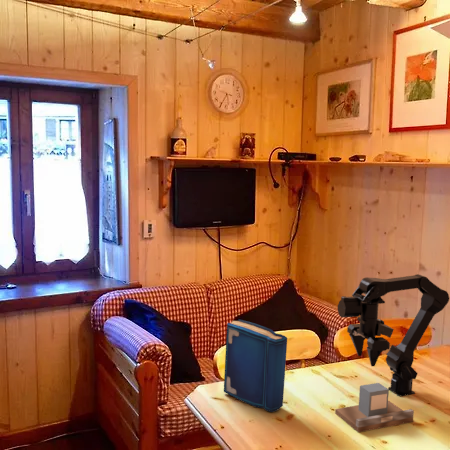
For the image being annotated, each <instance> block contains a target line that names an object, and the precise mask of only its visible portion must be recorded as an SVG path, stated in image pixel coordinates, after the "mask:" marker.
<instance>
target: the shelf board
mask: <svg viewBox="0 0 450 450" xmlns="http://www.w3.org/2000/svg"><path fill="white" fill-rule="evenodd" d="M358 409H359V404H357V405H351V406H345V407H338V408H335V411H334V413H335V415H337V416H338V417H339V418H340V419H341V420H342V421H343V422H345V423H346V424H347V425H349V427H351V428H352V429H353V430H354V431H356V432H357V433H362V432H366V431H372V430H377V429H382V428H387V427H393V426H397V425H404V424H409V423H413V422H414V413H415V412H414V410H413V409H411V408H410V409H409V408H408V409H405V410H403V409H402V408H401V407H399V406H398V405H396V404H394V403H393V402H391V401H390V400H388V409H387V414H382V415H376V416H371V417H367V416H366V415H364V414H363V413H362V412H360V411H359V410H358Z"/></svg>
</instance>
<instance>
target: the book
mask: <svg viewBox="0 0 450 450" xmlns="http://www.w3.org/2000/svg"><path fill="white" fill-rule="evenodd" d="M225 336H226V339H225V356H224V359H225V360H224V377H223V378H224V380H223V392H224V393H225V394H228V395H229V396H231V397H233V398H234V399H236V400H238V401H241V402H242V403H246V404H248V405H250V406H252V407H254V408H258V409H259V408H260V409H264V410H265V411H266V412H270V413H273V412H277V411H279V410H280V409H281V408H282V407H283V406H284V393H285V392H284V391H285V381H286V380H285V378H286V363H287V349H288V337H287V336H285V335H283V334H281V333H276V332H275V331H273V329H271V328H268V327H266V326H263V325H260V324H257V323H254V322H250V321H246V320H243V319H239V318H238V320H232V321H231V322H227V323H226V334H225Z"/></svg>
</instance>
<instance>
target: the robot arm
mask: <svg viewBox="0 0 450 450" xmlns="http://www.w3.org/2000/svg"><path fill="white" fill-rule="evenodd" d="M414 289H417V290H418V291H419V293H421V294H422V296H421V298H420V309H419V310H418V311H417V314H416V315H415V317H414V319H413V321H412V323H411V325H410V326H409V328H408V329H407V332H406V333H405V335H404V336H403V339H402V340H401V341H400V343H399V344H397V345H396V346H395V345H393V344H392V345H391V343H390V341H389V340H388V339H386V338H385V337H387V338H390V339H391V337H392V335H393V332H394V331H395V329H394V328H392V327H390V326H389V325H387V324H385V321H384V320H382V319H381V318H379V317H378V316H379V305H380V304H381V305H383V304H386V301H385V300H384V299H383V298H382V297H384V296H386V295H387V294H389V293H392V292H398V291H405V290H406V291H407V290H414ZM340 297H341V298H340V300H339V301H338V304H337V312H338V315H339V317H340V318H355V317H356V318H357V321H358V322H359V323H351V324H349V325H348V326H347V331H346V332H347V333H348V335H349V337H350V339H351V341H352V345H353V347H354V349H355V351H356V354H357V356H358V357H362V355H363V348H364V344H365V343H364V342H365V341H366V350H367V355H368V358H369V363H370V366H371V367H375V366H376V365H377V362H378V359H379V357H380V355H381V354H382V352H386V351H387V350H388V351H387V353H386V354H385V355H386V357H385V361H386V364H387V366H388V367H389V370H390V371H391V372H393V373H391V374H392V375H391V380H390V386H389V387H387V389H389V390H390V391H391V392H392V393H394V394H396V395H397V396H399V397H405V396H410V395H415V394H416V392H415V391H414V390H413V383H414V380H416V378H417V377H418V376H417V375H418V372H417V371H416V370H415V369H414V368H413V363H414V357H415V356H414V355H415V353H414V352H415V350H416V348H417V347H418V345H419V343H420V341H421V340H422V338H423V336H424V334H425V332H427V329H428V327H429V326H430V324H431V322H432V320H433V318H434V317H435V315H437V314H438V313H440V312H441V311H443V310H444V308H445V307H446V306H447V304H448V303H449V302H450V296H449V292H448V291H447V290H444V289H442V288H440V287H439V286H438V285H437V284H435V283H433V282H432V281H431V280H430V279H429V278H428V276H425V275H422V274H417V273H416V274H414V275H408V276H400V277H392V278H379V277H364V278H362V279H361V281H360V282H359V285H358V286H357V287H356V289H355V290H354V292H353V293H352V294H351V296H346V295H345V296H340ZM382 336H384V337H382ZM390 345H391V346H390Z"/></svg>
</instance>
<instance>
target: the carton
mask: <svg viewBox="0 0 450 450" xmlns="http://www.w3.org/2000/svg"><path fill="white" fill-rule="evenodd" d="M358 396H359V397H358V405H359V409H358V410H359V411H360V412H362V413H363V414H364V415H366V416H367V417H371V416H376V415H382V414H387V409H388V401H389V389H388V387H386V386H384V385H382V384H381V383H380V382H376V383H375V382H374V383H369V384H368V383H367V384H362V385H359V395H358Z"/></svg>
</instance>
